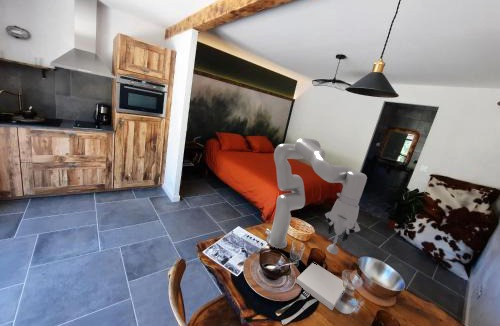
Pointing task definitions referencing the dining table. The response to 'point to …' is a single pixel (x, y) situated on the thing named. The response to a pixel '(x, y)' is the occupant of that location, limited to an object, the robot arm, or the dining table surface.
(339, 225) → the chalice
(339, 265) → the dining table surface
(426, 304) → the dining table surface
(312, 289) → the plinth
